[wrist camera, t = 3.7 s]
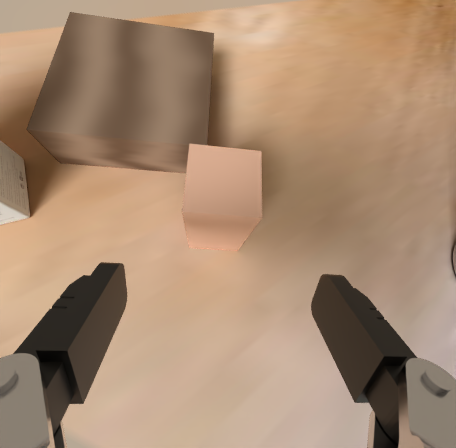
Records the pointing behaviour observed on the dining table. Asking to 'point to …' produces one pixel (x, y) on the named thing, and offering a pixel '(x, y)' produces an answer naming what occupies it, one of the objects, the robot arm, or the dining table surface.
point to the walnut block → (125, 94)
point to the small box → (12, 186)
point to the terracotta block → (221, 196)
